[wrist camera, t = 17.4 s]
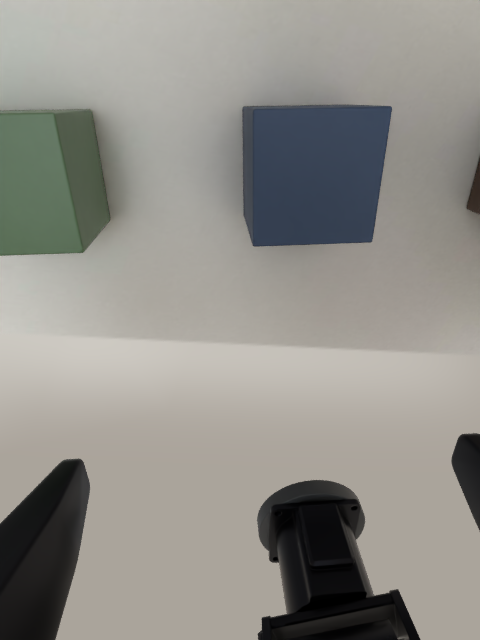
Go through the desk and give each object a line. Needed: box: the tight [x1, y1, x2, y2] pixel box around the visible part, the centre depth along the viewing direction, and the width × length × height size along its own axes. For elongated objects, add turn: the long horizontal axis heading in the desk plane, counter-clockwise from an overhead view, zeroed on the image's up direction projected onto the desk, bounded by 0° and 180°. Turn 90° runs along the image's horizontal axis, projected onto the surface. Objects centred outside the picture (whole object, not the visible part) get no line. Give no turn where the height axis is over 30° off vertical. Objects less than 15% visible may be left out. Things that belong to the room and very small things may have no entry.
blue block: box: [243, 105, 392, 246], centre depth 16 cm, size 4×4×4 cm
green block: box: [0, 109, 110, 256], centre depth 15 cm, size 4×4×4 cm
